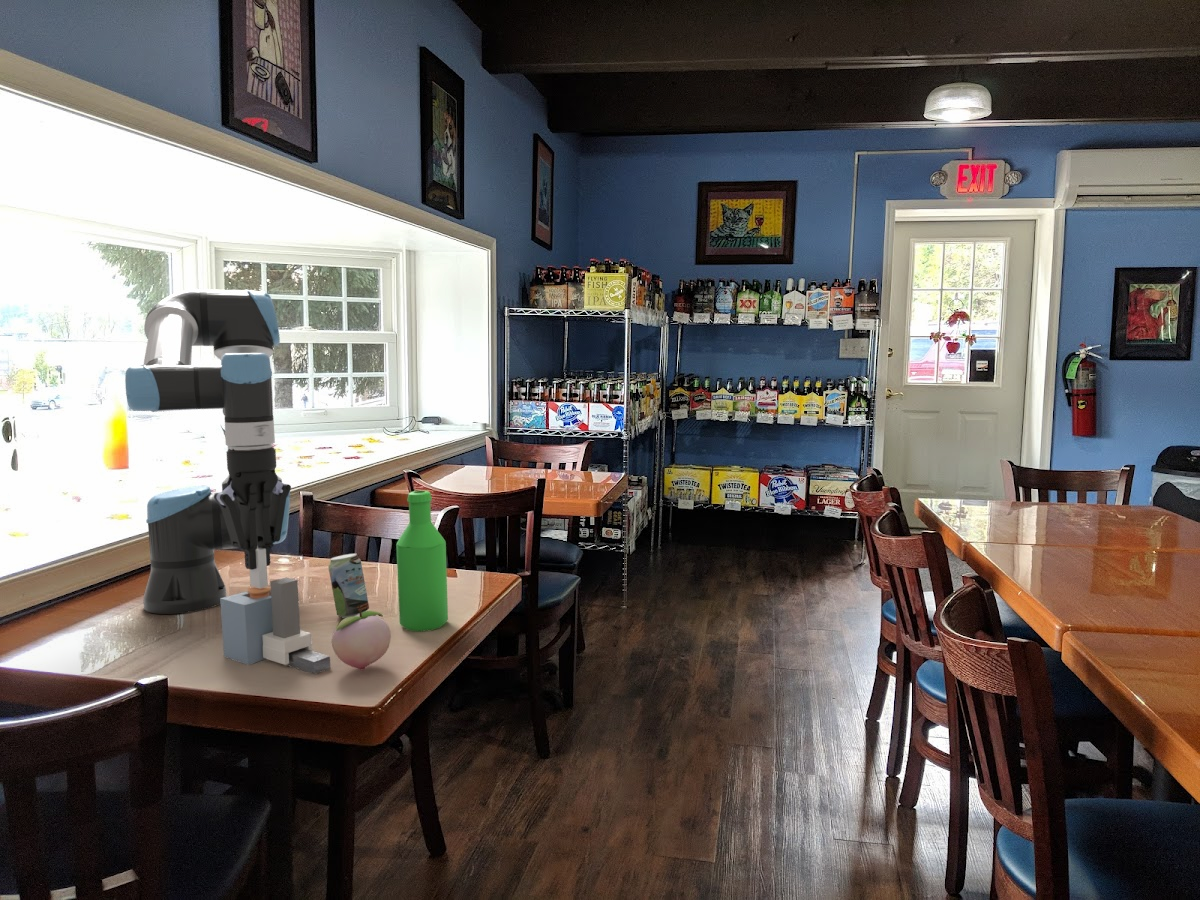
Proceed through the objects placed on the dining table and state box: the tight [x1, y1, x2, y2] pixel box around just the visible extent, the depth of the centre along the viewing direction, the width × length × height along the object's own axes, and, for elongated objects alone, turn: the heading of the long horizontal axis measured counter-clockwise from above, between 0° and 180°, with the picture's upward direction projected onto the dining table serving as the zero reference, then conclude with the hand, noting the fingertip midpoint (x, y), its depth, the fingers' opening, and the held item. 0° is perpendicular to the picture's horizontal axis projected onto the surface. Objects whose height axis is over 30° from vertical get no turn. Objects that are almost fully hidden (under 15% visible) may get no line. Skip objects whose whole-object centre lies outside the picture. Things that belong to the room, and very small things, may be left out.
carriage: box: [262, 576, 314, 666], centre depth 140 cm, size 6×5×13 cm
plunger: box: [247, 584, 271, 599], centre depth 144 cm, size 4×4×5 cm
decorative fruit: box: [331, 608, 392, 671], centre depth 136 cm, size 9×8×10 cm
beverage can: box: [328, 553, 370, 619], centre depth 163 cm, size 6×7×12 cm
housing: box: [219, 590, 301, 666], centre depth 144 cm, size 7×10×10 cm
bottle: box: [396, 490, 449, 632], centre depth 156 cm, size 9×9×25 cm
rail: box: [286, 648, 331, 675], centre depth 139 cm, size 12×3×2 cm, turn 55°
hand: (259, 586), depth 143 cm, fingers closed
